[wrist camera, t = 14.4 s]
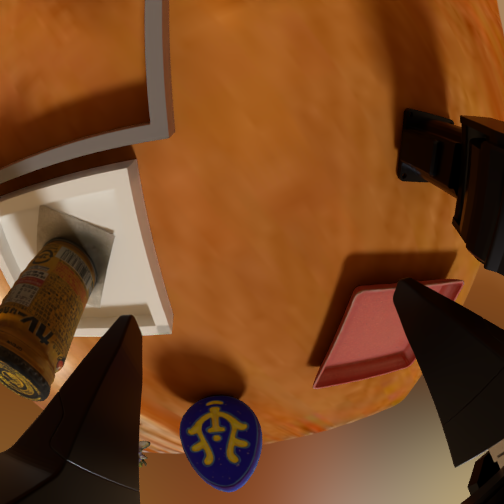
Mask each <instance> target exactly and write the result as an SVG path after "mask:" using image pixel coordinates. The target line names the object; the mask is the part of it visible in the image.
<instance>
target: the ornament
mask: <svg viewBox="0 0 504 504" xmlns="http://www.w3.org/2000/svg"><path fill="white" fill-rule="evenodd" d="M180 439H181V443H182V446H183V450H184V452H185V454H186V456H187V458H188V460H189V462H190V464H191V465H192V467H193V468H194V470H195V471H196V472H197V473H198V475H199V476H200V477H201V478H202V479H203V480H204V481H205V482H206V483H208V484H209V485H211V486H212V487H214V488H216V489H218V490H221V491H224V492H233V491H235V490H237V489H239V488H241V487H242V486H243V485H244V484H245V483H246V482H247V481H248V480H249V478H250V476H251V475H252V474H253V472H254V470H255V468H256V466H257V464H258V461H259V457H260V454H261V449H262V432H261V426H260V424H259V421H258V419H257V417H256V415H255V414H254V412H253V411H252V410H251V409H250V407H249V406H248V405H246V404H245V403H244V402H242V401H240V400H238V399H236V398H234V397H230V396H223V395H221V396H211V397H207V398H204V399H201V400H199V401H197V402H196V403H195V404H193V405H192V406H191V407H190V408H189V409H188V410H187V412H186V413H185V414H184V416H183V418H182V421H181V423H180Z"/></svg>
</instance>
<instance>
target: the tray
mask: <svg viewBox="0 0 504 504" xmlns="http://www.w3.org/2000/svg"><path fill="white" fill-rule="evenodd" d="M40 205H43V206H45V207H48V208H50V209H54V210H56V211H58V212H60V213H63V214H66V215H70V216H71V217H73V218H75V219H78V220H80V221H83V222H85V223H88V224H89V225H92V226H95V227H97V228H99V229H102V230H104V231H106V232H107V233H110V234H112V235H114V236H115V238H114V242H113V246H112V250H111V255H110V259H109V263H108V267H107V272H106V277H105V282H104V288H103V292H102V298H101V303H100V309H99V308H96V307H93V306H91V305H88V304H86V307H85V309H84V311H83V314H82V316H81V319H80V322H79V324H78V327H77V329H76V331H75V334H74V337H102V336H103V335H104V334H105V333H106V332H107V330H108V329H109V328H110V327H111V326H112V325H113V323H114V322H115V321H116V320H117V319H118V318H119V317H120V316H121V315H129V314H131V315H133V316H134V317H135V319H136V321H137V324H138V326H139V328H140V330H141V333H142V335H161V334H172V325H173V312H172V308H171V305H170V302H169V299H168V295H167V292H166V288H165V285H164V281H163V278H162V274H161V270H160V267H159V263H158V259H157V255H156V251H155V247H154V243H153V239H152V235H151V230H150V226H149V221H148V217H147V212H146V207H145V203H144V197H143V192H142V187H141V182H140V176H139V170H138V164H137V159H134V160H128V161H123V162H118V163H113V164H109V165H104V166H100V167H95V168H91V169H87V170H83V171H79V172H75V173H71V174H67V175H64V176H60V177H57V178H53V179H50V180H47V181H43V182H40V183H37V184H34V185H31V186H28V187H25V188H22V189H19V190H16V191H13V192H11V193H8V194H5V195H3V196H0V268H1V270H2V272H3V274H4V276H5V278H6V280H7V282H8V284H9V286H10V288H12V287H13V285H14V283H15V281H16V280H17V279H18V278H19V276H20V273H21V272H22V271H24V270H25V268H26V267H27V266H28V264H29V263H30V261H31V260H32V259H33V258H34V257H35V256H36V255H37V224H38V214H39V207H40ZM58 234H59V233H58Z"/></svg>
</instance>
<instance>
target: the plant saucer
mask: <svg viewBox="0 0 504 504" xmlns="http://www.w3.org/2000/svg"><path fill="white" fill-rule="evenodd" d="M417 282H419V283H421V284H423V285H425V286H427V287H429V288H431V289H433V290H434V291H436V292H438V293H440V294H442V295H444V296H445V297H447V298H449V299H451V300H453V301H455V300H456V298H457V296H458V294H459V293H460V291H461V289H462V287H463V285H464V281H463V280H457V279H437V280H428V281H417ZM396 286H397V283H391V284H377V285H362V286H358V287H356V288H355V289H354V291H353V293H352V296H351V298H350V301H349V303H348V306H347V308H346V311H345V313H344V316H343V318H342V321H341V323H340V325H339V328H338V330H337V332H336V334H335V337H334V339H333V341H332V343H331V345H330V347H329V350H328V352H327V354H326V356H325V358H324V360H323V362H322V364H321V366H320V369H319V371H318V373H317V376H316V378H315V381H314V384H313V388H314V389H319V388H325V387H331V386H336V385H341V384H346V383H350V382H355V381H359V380H364V379H368V378H372V377H376V376H380V375H384V374H387V373H391V372H394V371H398V370H401V369H404V368H407V367H409V366H410V365H411V364H412V363H413V362H414V361H415V359H416V357H415V355H414V353H413V350H412V348H411V346H410V344H409V342H408V339H407V337H406V335H405V332H404V329H403V327H402V324H401V321H400V319H399V316H398V313H397V311H396V308H395V306H394V303H393V294H394V292H395V289H396Z"/></svg>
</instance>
